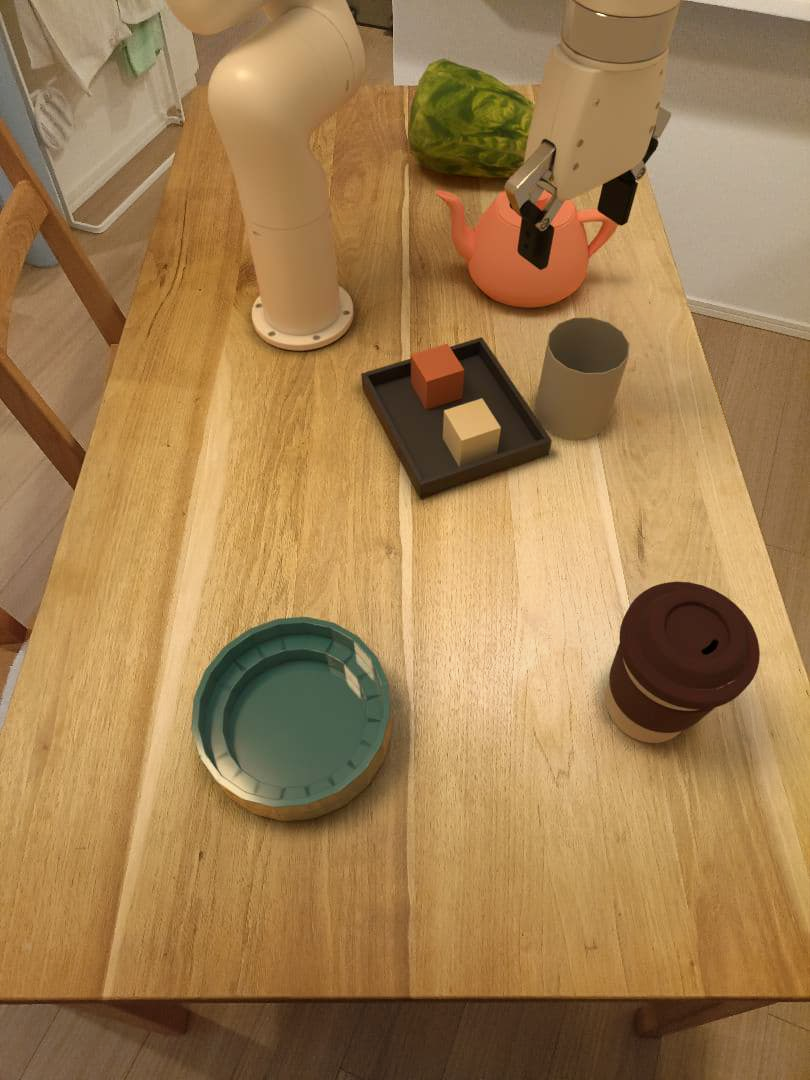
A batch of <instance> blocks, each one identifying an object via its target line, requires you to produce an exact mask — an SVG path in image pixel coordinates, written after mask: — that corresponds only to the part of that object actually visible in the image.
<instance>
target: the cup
mask: <svg viewBox="0 0 810 1080" xmlns="http://www.w3.org/2000/svg"><path fill="white" fill-rule="evenodd" d="M629 355H630V342H629V340H628V339H627V337H626V335H625V333H624V332H623V330H621V329H620V328H618V327H617V326H616V325H614V324H612V323H611V322H609V321H606V320H602V319H599V318H595V317H592V316H591V317H590V316H588V317H587V316H586V317H585V316H584V317H581V316H580V317H571V318H568V319H566V320H564V321H560V322H558V323H557V324H556V325H555V326H554V327H553V328H552V329H551V330H550V331H549V332H548V336H547V342H546V347H545V352H544V357H543V363H542V368H541V373H540V379H539V384H538V389H537V394H536V399H535V406H534V412H533V413H534V415H535V416H536V418H537V419H538V421H539V422H540V424H541V425H542V427H543V428H544V430H545V431H546V432H548V433H549V434H551V435H552V436H555V437H559V438H561V439H564V440H567V441H574V440H576V441H578V440H587V439H590V438H592V437H594V436H597V435H600V433H602V431H603V430H604V429H605V427H606V426H607V425H608V424H609V421H610V417H611V414H612V411H613V408H614V405H615V402H616V398H617V395H618V392H619V389H620V386H621V382H622V380H623V376H624V374H625V369H626V368H627V367H626V366H627V363H628V360H629Z"/></svg>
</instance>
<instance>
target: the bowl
mask: <svg viewBox="0 0 810 1080" xmlns="http://www.w3.org/2000/svg"><path fill="white" fill-rule="evenodd" d="M389 686H390V685H389V681H388V679H387V676H386V675H385V671H384V670H383V667H382V665H381V663H380V661H379V658H378V656H377V655H376V653H374V652H373V651H372V649H370V647H369V646H368V645H367V644H366V643H365V642H364V641H363V639H361V637H359V636H358V635H357V634H355V633H353V632H351V631H350V630H348V629H347V628H344V627H343V626H341V625H338V624H337V623H336V622H332V621H328V620H324V619H320V618H319V619H318V618H314V617H309V616H298V617H285V618H275V619H272V620H269V621H268V622H265V623H264V622H263V623H262V624H259V625H257V626H254V627H250V628H249V629H247V630H245V631H244V632H243V633H241V634H240V635H238V636H237V637H236V638H234V639H232V641H230V642H228V643H227V644H225V645H224V646H223V647H222V648H221V650H220V651H218V653H217V655H216V656H215V657H214V658H213V659H212V661H211V662H210V663H209V665H207V667H206V668H205V670H204V673H203V674H202V676H201V678H200V681H199V684H198V686H197V688H196V691H195V694H194V695H193V701H192V712H191V713H192V714H191V725H190V729H191V733H192V737H193V740H194V744H195V748H196V751H197V755H198V758H199V760H200V761H201V763H202V764H203V765H204V767H205V768H206V770H207V771H208V772H209V774H210V775H211V777H212V778H213V779H214V781H215V782H216V784H217V785H218V786H219V788H221V790H222V791H223V792H224V794H225V795H226V796H227V798H229V799H231V800H232V801H233V802H234V803H236V804H238V805H239V806H240V807H242V808H244V809H245V810H246V811H248V812H249V813H251V814H254V815H255V816H256V815H257V816H261V817H265V818H268V819H273V820H276V821H280V822H290V821H301V820H303V821H304V820H314V819H316V818H319V817H321V816H323V815H326V814H329V813H331V812H333V811H335V810H338V809H340V808H343V807H344V806H346V805H347V804H348V803H349V802H351V801H352V800H353V799H354V798H355V797H356V796H358V795H359V794H360V793H361V792H362V791H364V790H365V789H366V788H367V787H368V786H369V785H370V783H371V782H372V780H373V778H374V777H375V775H376V774H377V773H378V770H379V769H380V768H381V766H382V765H383V763H384V761H385V759H386V756H387V752H388V748H389V743H390V740H391V735H392V732H393V727H392V714H391V700H390V687H389Z"/></svg>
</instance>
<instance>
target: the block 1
mask: <svg viewBox="0 0 810 1080" xmlns="http://www.w3.org/2000/svg"><path fill="white" fill-rule="evenodd" d="M450 347H451V346H450V345H449V343H444V344H442V345H437V346H435V347H431V348H428V349H425V350H422V351H419V352H415V353H412V354H410V359H411V384H412V386H413V388H414V389H415V391H416V393H417V395H418V396H419V398H420V400H421V402H422V403H423V405H424V407H425V408H426V410H427V409H430V408H434V407H437V406H440V405H443V404H446V403H449V402H452V401H456V400H459V399H462V394H463V380H464V369H463V367H462V366H461V364H460V362H459V361H458V359H457V358H456V356H455V355H454V353H453V351H452V350H451V348H450Z"/></svg>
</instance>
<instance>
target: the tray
mask: <svg viewBox="0 0 810 1080" xmlns="http://www.w3.org/2000/svg"><path fill="white" fill-rule="evenodd" d="M449 347H450V348H451V350H452V351H453V353H454V355H455V356H456V358H457V359H458V361H459V362H460V364H461V366H462V367H463V369H464V380H463V394H462V399H459V400H456V401H452V402H449V403H446V404H443V405H440V406H437V407H434V408H430V409H427V410H426V408H425V407H424V405H423V403H422V402H421V400H420V398H419V396H418V395H417V393H416V391H415V389H414V388H413V386H412V384H411V358H408V359H405V360H402V361H401V360H400V361H397V362H395V363H392V364H388V365H385V366H382V367H378V368H375V369H371V370H368V371H365V372H362V373H360V377H361V386H362V388H361V389H362V391H363V393H364V395H365V397H366V398H367V400H368V402H369V404H370V407H371V408H372V410H373V412H374V414H375V416H376V418H377V420H378V422H379V423H380V425H381V427H382V430H383V431H384V433H385V435H386V437H387V439H388V440H389V443H390V444H391V447H392V448H393V450H394V452H395V454H396V456H397V458H398V460H399V462H400V464H401V465H402V467H403V469H404V471H405V473H406V475H407V477H408V478H409V480H410V482H411V484H412V486H413V488H414V490H415V492H416V494H417V496H418V497H419V499H420V500H421V499H426V498H428V497H430V496H434V495H436V494H439V493H442V492H446V491H449V490H452V489H453V488H457V487H460V486H463V485H466V484H468V483H472V482H475V481H477V480H480V479H483V478H486V477H490V476H492V475H495V474H497V473H501V472H504V471H507V470H510V469H513V468H516V467H518V466H522V465H524V464H527V463H530V462H533V461H536V460H538V459H539V460H540V459H542V458H545V457H547V456H550V450H551V447H552V441H553V440H552V439H551V437H550V435H549V434H548V433H547V430H546V429H545V428H543V427H542V425H541V424H540V422H539V421H538V419H537V417H536V415H535V413H534V412H533V411H532V408H531V407H530V406H529V404H528V403H527V401H526V400H525V398H524V397H523V395H522V394H521V392H520V391H519V390H518V388H517V387H516V385H515V383H514V382H513V381H512V379H511V378H510V376H509V375H508V373H507V371H506V370H505V369H504V367H503V366H502V364H501V363H500V361H499V360H498V358H496V356H495V354H494V353H493V351H492V350H491V348H490V347H489V346H488V343H486V341H485V339H484V338H483V337H482V336H481V337H478V338H474V339H470V340H467V341H464V342H461V343H458V344H454V345H451V346H449ZM481 398H482V399H483V400H484V402H485V403H486V405H487V406H488V408H489V410H490V411H491V413H492V414H493V416H494V417H495V419H496V421H497V422H498V424H499V425H500V427H501V430H500V438H499V445H498V452H497V455H494V456H491V457H488V458H485V459H482V460H479V461H476V462H473V463H470V464H467V465H464V466H461V467H459V466H458V464H457V462H456V461H455V459H454V457H453V455H452V454H451V452H450V450H449V448H448V447H447V445H446V443H445V441H444V440H443V421H444V410H447V409H450V408H453V407H457V406H460V405H463V404H466V403H469V402H472V401H475V400H478V399H481Z"/></svg>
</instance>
